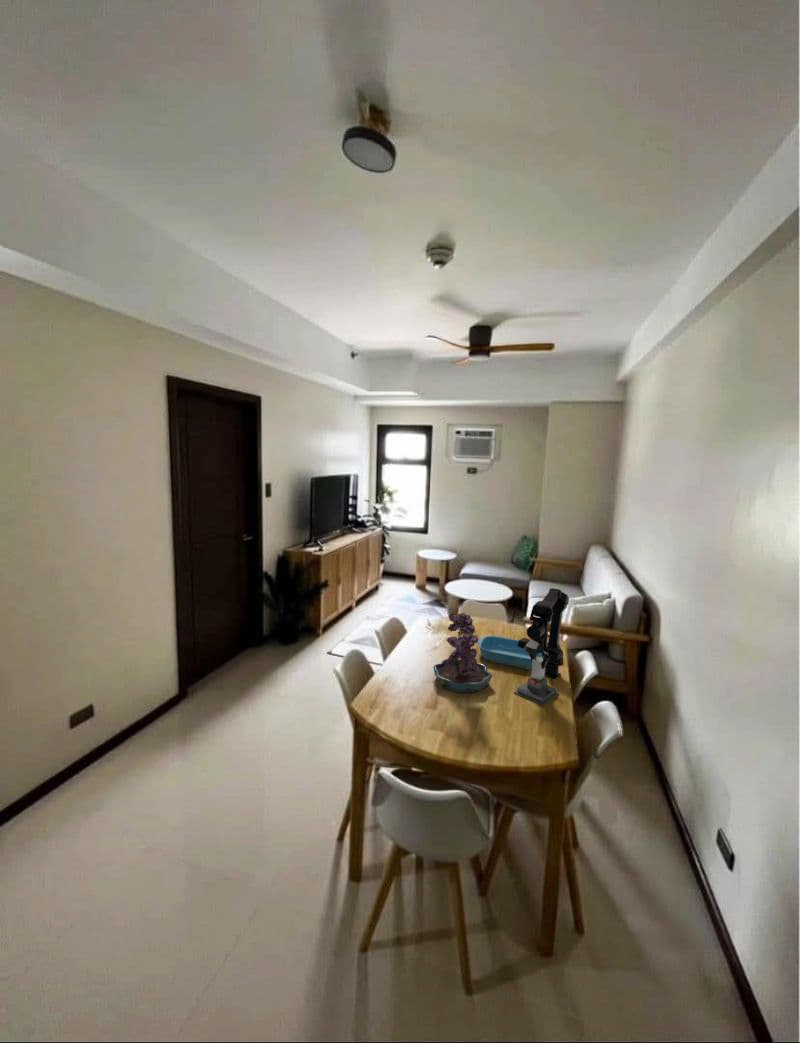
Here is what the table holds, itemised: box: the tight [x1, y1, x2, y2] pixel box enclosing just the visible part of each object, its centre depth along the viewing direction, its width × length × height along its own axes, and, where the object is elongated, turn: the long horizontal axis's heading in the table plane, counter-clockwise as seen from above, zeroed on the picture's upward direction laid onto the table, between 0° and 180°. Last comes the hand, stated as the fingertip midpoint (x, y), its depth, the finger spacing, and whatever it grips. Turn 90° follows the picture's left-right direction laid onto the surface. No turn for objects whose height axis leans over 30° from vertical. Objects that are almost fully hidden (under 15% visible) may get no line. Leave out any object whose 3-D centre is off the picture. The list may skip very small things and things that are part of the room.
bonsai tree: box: [432, 612, 493, 693], centre depth 193 cm, size 35×27×33 cm
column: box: [530, 657, 546, 682], centre depth 188 cm, size 4×4×11 cm
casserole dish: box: [476, 635, 542, 670], centre depth 223 cm, size 37×22×7 cm, turn 67°
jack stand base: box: [513, 676, 560, 706], centre depth 189 cm, size 14×14×7 cm
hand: (538, 667), depth 188 cm, fingers closed on column, 4 cm apart
